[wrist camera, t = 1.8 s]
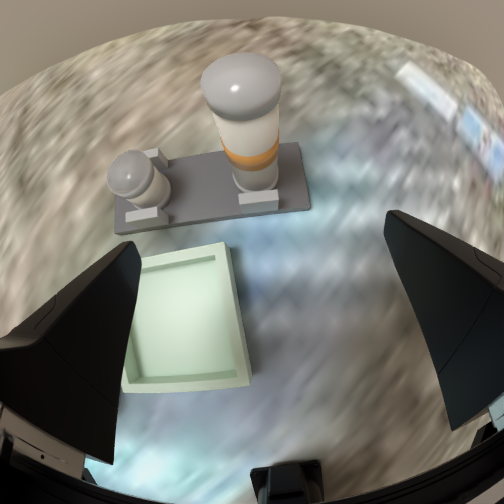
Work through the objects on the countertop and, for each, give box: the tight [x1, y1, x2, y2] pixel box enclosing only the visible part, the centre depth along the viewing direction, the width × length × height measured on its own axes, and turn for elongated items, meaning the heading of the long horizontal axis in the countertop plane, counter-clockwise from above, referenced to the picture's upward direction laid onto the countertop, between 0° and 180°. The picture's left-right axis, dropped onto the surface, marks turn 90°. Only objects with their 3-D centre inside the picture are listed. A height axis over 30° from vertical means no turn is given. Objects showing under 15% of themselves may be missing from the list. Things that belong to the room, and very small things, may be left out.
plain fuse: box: [107, 150, 172, 210], centre depth 20 cm, size 4×4×5 cm
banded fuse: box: [201, 52, 281, 193], centre depth 16 cm, size 4×4×12 cm
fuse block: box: [115, 142, 310, 235], centre depth 22 cm, size 6×17×4 cm, turn 96°
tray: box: [121, 242, 252, 393], centre depth 21 cm, size 11×11×3 cm
